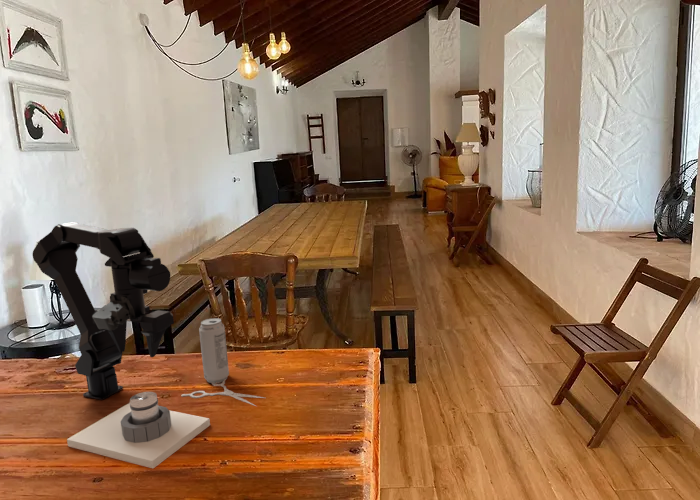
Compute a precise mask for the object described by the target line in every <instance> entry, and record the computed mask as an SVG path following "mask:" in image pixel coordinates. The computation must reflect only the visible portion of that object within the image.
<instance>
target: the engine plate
mask: <svg viewBox="0 0 700 500" xmlns="http://www.w3.org/2000/svg"><path fill="white" fill-rule="evenodd" d="M158 409H159V417H160V418H159V419H157V420H156V421H154V422H151V423H148V424H143V425H133V420H132V413H131V409H130V402H128V403H127V404H125V405H123V406H121V407H120V408H117V410H115V411H113V412H111V413H109V414H107V416H106V415H105V417H102V418H101V419H99V420H98V421H97V420H96V422H94V423H92V424H90V425H89V426H87V427H86V428H84V429H82V430H81V431H80V430H79V432H77V433H75V434H74V435H71V436H70V437H67V439H66V442H67V446H68V447H70V448H73V449H78V450H80V451H85V452H88V453H91V454H95V455H101V456H105V457H107V458H111V459H114V460H115V459H116V460H118V461H119V460H120V461H123V462H126V463H130V464H135V465H139V466H140V467H141V466H142V467H146V468H150V469H154V468H156V467H157V466H159V465H160V464H161V463H162V462H164V461H165V460H167V458H170V456H172V455H173V454H175V452H177V451H179V449H181V448H183V446H185V445H186V444H188V443H189V442H190V441H191V440H193V439H194V438H195V437H196V436H198V435H199V434H200V433H202V432H203V431H204V430H206V429H207V428H208V427H210V426H211V423H210V422H211V420H210V418H209V417H204V416H201V415H200V416H198V415H193V414H189V413H185V412H180V411H174V410H170V409H169V408H168V407H166V406H162V405H158Z"/></svg>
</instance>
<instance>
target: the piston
mask: <svg viewBox="0 0 700 500" xmlns="http://www.w3.org/2000/svg"><path fill="white" fill-rule="evenodd" d="M129 403H130V409H131V413H132V420H133V425H143V424H148V423H151V422H154V421H156V420H157V419H159V418H160V417H159V409H158V406H159V399H158V395H157V392H154V391H144V392H139V393H137V394H134V395H132V396H131V397H130V399H129Z"/></svg>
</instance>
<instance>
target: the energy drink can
mask: <svg viewBox="0 0 700 500" xmlns="http://www.w3.org/2000/svg"><path fill="white" fill-rule="evenodd" d="M225 330H226V329H225V325H224V324H223V322H222V319H221V318H218V317H215V318H212V317H211V318H206V319H203V320H202V321H201V322H200V326H199V328H198V332H199V342H200V350H201V351H200V352H201V359H202V360H201V361H202V362H201V363H202V370H203V371H202V372H203V378H204V379H205V380H206V382H207V383H208V384H212V383H215V384H221V383H223V380H224V381H225V382H226V380H227V379H228V376H229V375H230V370H229V359H228V358H229V357H228V350H227V349H228V348H227V340H226V331H225Z"/></svg>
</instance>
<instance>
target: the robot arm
mask: <svg viewBox="0 0 700 500" xmlns="http://www.w3.org/2000/svg"><path fill="white" fill-rule="evenodd" d="M81 246H85V247H91V248H95V249H97V250H99V253H100V254H101V255H104V256H105V257H108V260H106V261H105V262H104V266H105V267H110V268H111V269H110V270H111V275H112V282H113V283H112V284H113V291H114V292H112V293H110V296H109V302H108V303H107V304H105V305H103V306H102V307H101V308H97V309H95V307H94V305H93V303H92V301H91V299H90V297H89V295H88V293H87V291H86V289H85V287H84V285H83V283H82V281H81V278H80V277H79V275H78V272H77V266H78V255H77V251H78V250H79V249H80V247H81ZM32 259H33V261H34V262H35V263H36V265H37V266H38V268H39V270H40V271H41V272H42V274H44V275H45V276H47V277H48V278H50V279H52V280H53V281H54V282H55V284H56V286H57V289H58V291H59V293H60V295H61V297H62V298H63V301H64V303H65V305H66V306H67V309H68V311H69V313H70V315H71V317H72V319H73V321H74V323H75V325H76V327H77V329H78V331H79V334H80V338H79V345H78V349H79V352H80V357H79V358H78V359H77V361H76V363H75V364H74V367H75V371H76V372H77V374H78V375H82V376H85V377H86V379H85V380H86V384H87V391H86V392H84V393H82V396H83V397H86V398H91V399H95V400H101V401H102V400H104V399H107V398H109V397H110V396H111V395H113V394H116V393H118V392H119V391H121V390H123V389H124V386H123V385H119V384H118V383H119V382H118V378H117V377H118V376H117V374H116V367H115V366H117V365H119V364H121V363H122V359H123V358H122V357H123V352H125V350H126V345H127V344H126V342H127V341H126V340H127V327H128V326H127V324H128V322H132V323H133V322H134V323H139V326H140V328H141V329H142V330H141V331H140V333H141V334H142V335H144V336H145V339H146V343H147V344H146V345H147V349H148V353H149V357H150V358H154V357H156V354H157V352H158V349H159V346H160V343H161V341H162V338H163V336H164V334H165V331H166V330H167V329H168V328H170V327H171V326H172V325H174V324H175V322H174V320H175V318H174V314H173V313H172V312H171V311H169V310H167V311H166V310H155V311H152V312H150V313H148V312H149V311H150V310H151V309H150V306H149V305H146V303H145V296H144V295H145V294H148V293H149V292H148V291H153V292H163V291H164V290H165V289H166V288H167V287H168V285H169V284H170V282H171V272H170V270H169V268H168V267H167V265H165V264H163V263H162V260H161V258H160V257H155V256H154V254H153V252H152V249H151V248H150V247H149V245H148V244H147V242H146V241H145V240H144V238H143V236H142V235H141V233H139V230H138V229H136V228H135V227H122V228H111V229H107V228H101V227H96V226H92V225H86V224H82V223H79V222H75V221H73V222H72V221H69V222H65V223H64V222H63V223H58V224H57V225H54V227H53V228H52V230H51V231H50V232H49V233H48V234H46V235H45V236H43V238H41V239H40V240H38V242H37V244H36V245H35V247H34V249H33V250H32Z"/></svg>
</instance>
